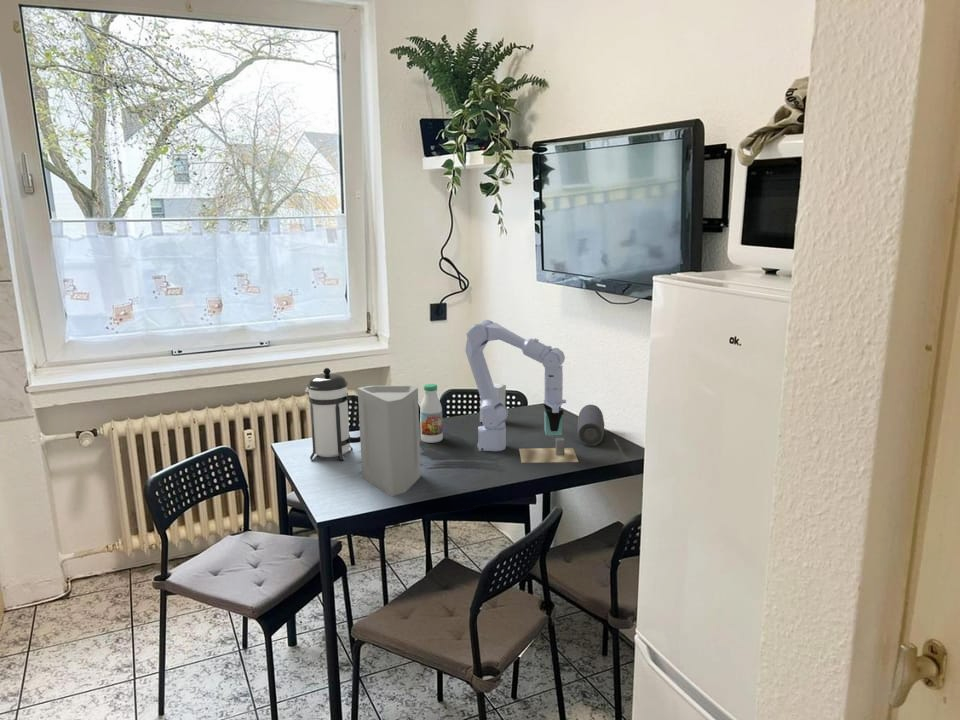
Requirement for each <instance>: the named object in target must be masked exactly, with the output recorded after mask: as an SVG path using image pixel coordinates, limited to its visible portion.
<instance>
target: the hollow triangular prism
mask: <svg viewBox="0 0 960 720" xmlns="http://www.w3.org/2000/svg"><path fill="white" fill-rule="evenodd" d="M357 396H358V403H359V404H358V403H357V404H358V419H359V420H358V421H359V423H358V424H359V437H360V442H359V443H360V457H361V458H360V460H361V477H362V478H363V479H364V480H366V481H367V482H369V483H371V484H372V485H374V486H375V487H377V488H378V489H380V490H381V491H383V492H384V493H386V494H387V495H389V496H392V497H393V496H397V495H401V494H405V493H407V491H408V490H410V489H411V487H412V486H413V485H414V484H415V483H416V482H417V481H418V480H420V478H421V474H422V473H421V449H420V447H421V446H420V445H421V444H420V439H421V438H420V413H419V411H420V409H419V408H420V407H419V388H418V386H416V385H366V386H362V387H361V386H360V387H358V388H357Z"/></svg>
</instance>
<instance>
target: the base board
mask: <svg viewBox="0 0 960 720" xmlns="http://www.w3.org/2000/svg"><path fill="white" fill-rule="evenodd" d="M518 451H519V455H520V461H521V462H520V463H521V464H522V463H524V464H527V463H528V464H531V463H535V464H536V463H538V464H539V463H578V462H579V460H578V457H577V455H576V452H575V449H574V447H565V451H564V455H556V447H553V448H552V447H550V448H549V447H548V448H545V447H544V448H541V447H539V448H518Z"/></svg>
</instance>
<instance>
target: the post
mask: <svg viewBox="0 0 960 720" xmlns="http://www.w3.org/2000/svg"><path fill="white" fill-rule="evenodd" d="M555 448H556V455H564V451H565V448H566V447H565V438H564V437H555Z"/></svg>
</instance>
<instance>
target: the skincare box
mask: <svg viewBox="0 0 960 720" xmlns="http://www.w3.org/2000/svg"><path fill="white" fill-rule="evenodd" d="M493 385H494V388H495V391H496V394H497V396H498V397H499V398H500V399H501V400H502V403H503V404H504V406H505V407H506V394H507V391H506V389H507V385H506V384H502V383H496V382H493ZM479 400H480V401H479V402H480V403H479V405H480V406H479V408H481V403H482V400H481V399H479ZM481 416H482V413H481V410H480V409H479V423H481V422H482V421H481Z"/></svg>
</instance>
